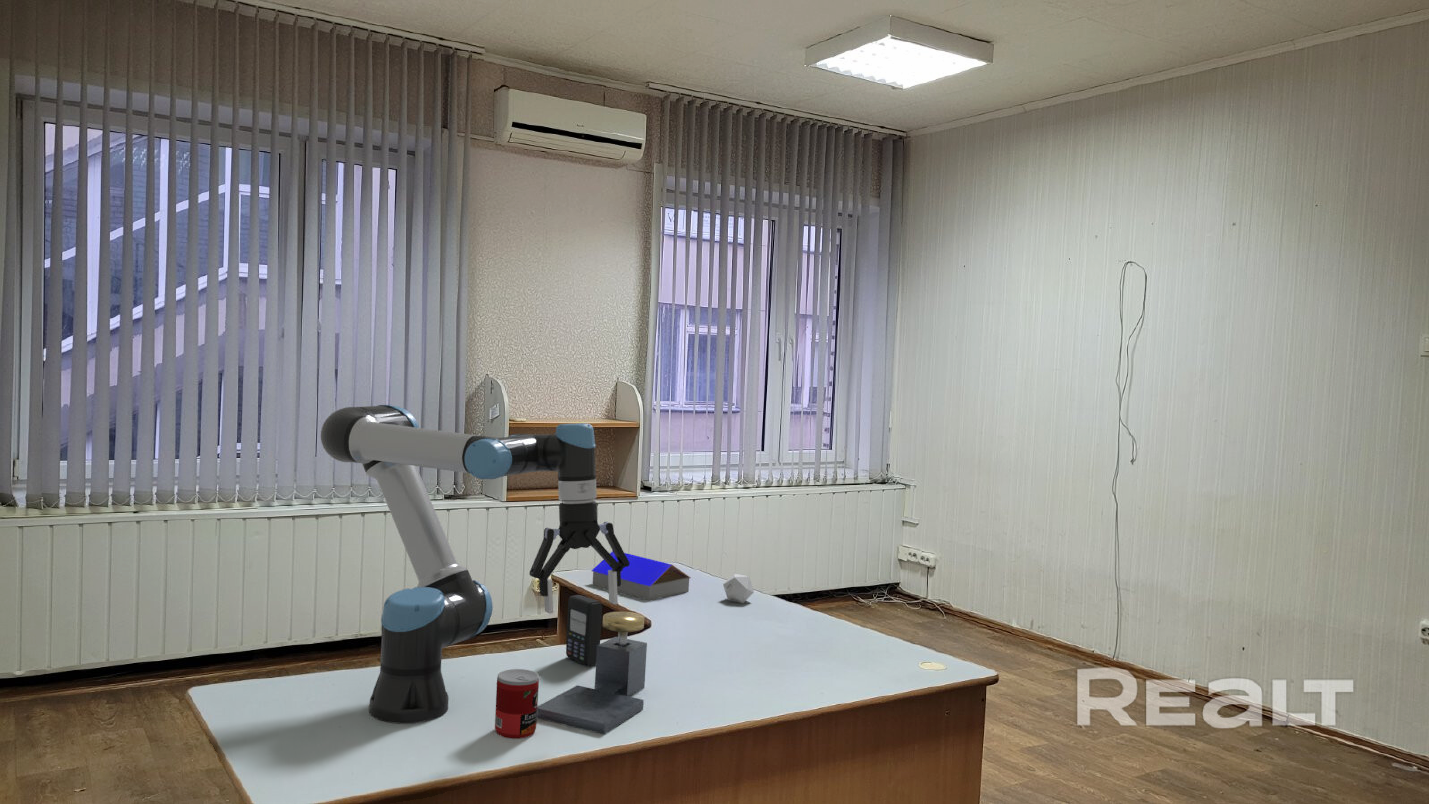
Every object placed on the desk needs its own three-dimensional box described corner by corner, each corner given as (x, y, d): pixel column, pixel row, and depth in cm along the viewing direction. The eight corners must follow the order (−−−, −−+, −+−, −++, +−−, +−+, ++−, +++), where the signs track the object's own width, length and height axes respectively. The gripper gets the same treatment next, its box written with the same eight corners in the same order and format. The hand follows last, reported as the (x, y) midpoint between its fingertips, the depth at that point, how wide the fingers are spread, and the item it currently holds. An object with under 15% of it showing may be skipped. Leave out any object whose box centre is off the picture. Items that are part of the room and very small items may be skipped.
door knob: (592, 663, 220) (595, 618, 220) (613, 653, 229) (615, 609, 228) (629, 671, 217) (632, 625, 216) (649, 660, 225) (651, 615, 224)
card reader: (562, 657, 243) (566, 595, 242) (576, 654, 245) (579, 593, 245) (586, 667, 236) (589, 603, 235) (600, 664, 239) (603, 601, 238)
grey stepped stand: (534, 717, 203) (537, 668, 203) (604, 679, 229) (607, 635, 228) (604, 734, 197) (607, 683, 196) (668, 692, 223) (671, 647, 222)
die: (724, 598, 312) (716, 576, 306) (748, 584, 314) (740, 562, 308) (736, 614, 305) (728, 592, 300) (760, 600, 307) (753, 578, 302)
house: (632, 577, 331) (634, 546, 331) (690, 592, 315) (692, 560, 315) (590, 585, 317) (592, 553, 316) (649, 602, 301) (651, 568, 300)
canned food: (527, 741, 191) (530, 684, 191) (487, 736, 193) (490, 678, 192) (542, 727, 199) (545, 671, 198) (503, 721, 200) (506, 666, 200)
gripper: (522, 508, 194) (527, 619, 194) (643, 497, 205) (646, 602, 206) (511, 504, 200) (515, 612, 200) (628, 494, 212) (631, 596, 212)
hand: (581, 607), depth 203 cm, fingers open, 13 cm apart
